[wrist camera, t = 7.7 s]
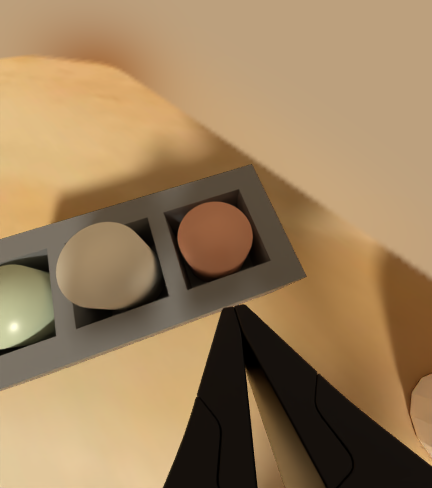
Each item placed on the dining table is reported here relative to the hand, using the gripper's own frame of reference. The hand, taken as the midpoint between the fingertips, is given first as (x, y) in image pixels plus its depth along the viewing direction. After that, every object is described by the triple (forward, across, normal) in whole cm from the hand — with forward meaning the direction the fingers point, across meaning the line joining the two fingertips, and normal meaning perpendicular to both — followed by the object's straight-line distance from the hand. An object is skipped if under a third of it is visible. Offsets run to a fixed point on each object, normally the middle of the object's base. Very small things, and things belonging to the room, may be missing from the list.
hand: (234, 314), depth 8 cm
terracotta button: (+9, 0, +2) cm, 9 cm away
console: (+11, +6, +5) cm, 13 cm away
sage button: (+7, +12, +4) cm, 14 cm away
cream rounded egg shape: (+7, +6, +2) cm, 9 cm away
